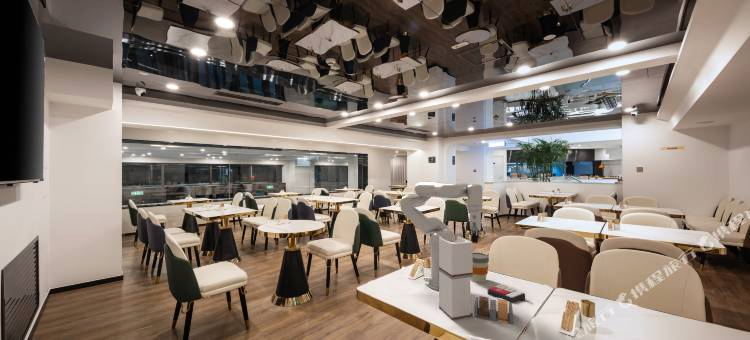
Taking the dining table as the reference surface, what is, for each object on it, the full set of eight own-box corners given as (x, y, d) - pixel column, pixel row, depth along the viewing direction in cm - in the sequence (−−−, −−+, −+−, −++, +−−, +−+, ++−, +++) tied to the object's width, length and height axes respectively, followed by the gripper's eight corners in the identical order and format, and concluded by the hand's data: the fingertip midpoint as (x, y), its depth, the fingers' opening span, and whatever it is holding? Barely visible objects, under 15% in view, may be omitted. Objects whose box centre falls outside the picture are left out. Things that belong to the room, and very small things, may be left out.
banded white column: (472, 318, 134) (472, 242, 134) (451, 322, 131) (451, 244, 131) (458, 307, 145) (458, 236, 145) (439, 310, 142) (439, 238, 142)
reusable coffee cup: (463, 276, 185) (463, 252, 185) (482, 275, 186) (482, 252, 186) (472, 284, 172) (472, 259, 172) (492, 283, 174) (492, 258, 173)
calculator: (499, 283, 165) (525, 291, 153) (500, 291, 165) (525, 300, 152) (487, 287, 160) (512, 296, 147) (487, 295, 160) (512, 305, 147)
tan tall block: (507, 319, 131) (507, 304, 131) (497, 318, 133) (497, 302, 132) (507, 315, 135) (507, 300, 135) (497, 313, 136) (497, 298, 136)
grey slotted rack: (474, 319, 134) (474, 306, 133) (475, 309, 143) (475, 297, 143) (513, 326, 128) (513, 312, 127) (511, 315, 137) (511, 302, 137)
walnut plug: (479, 314, 136) (479, 299, 135) (479, 310, 139) (479, 296, 139) (488, 316, 134) (488, 301, 134) (488, 312, 138) (488, 297, 138)
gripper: (481, 210, 145) (481, 245, 145) (483, 206, 161) (483, 237, 161) (465, 209, 148) (465, 243, 148) (468, 205, 164) (468, 236, 164)
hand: (474, 240), depth 155 cm, fingers open, 9 cm apart
